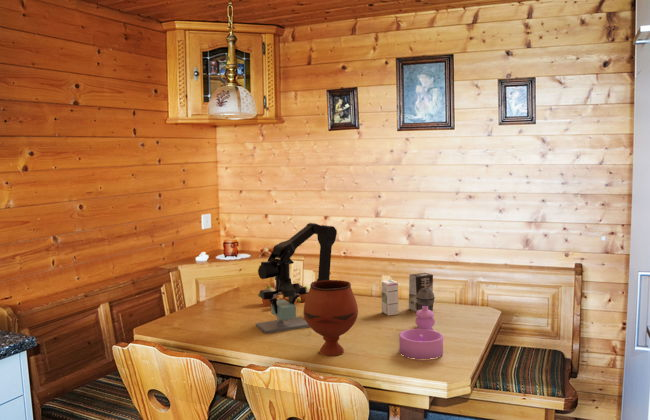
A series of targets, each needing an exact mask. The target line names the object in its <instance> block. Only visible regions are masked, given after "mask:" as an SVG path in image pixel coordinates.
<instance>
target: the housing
mask: <svg viewBox="0 0 650 420" xmlns="http://www.w3.org/2000/svg"><path fill="white" fill-rule="evenodd" d="M296 307H297V305H296V306H295V305H293V304H291V303H289V302H288V301H286V300H279V299H277V314H275V311H274V309H273V307H272V304H271V307H270V309H271V312H270V313H271V314H272V315H274V316H275V317H276V318H277V317H278V318H280V319H281V320H287V319H294V318H296V317H297V308H296Z"/></svg>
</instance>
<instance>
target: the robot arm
mask: <svg viewBox="0 0 650 420" xmlns="http://www.w3.org/2000/svg"><path fill="white" fill-rule="evenodd" d="M314 235H317V237H316V239H317V241H318V243H319V260H318V261H319V263H318V272H317V273H318V274H317V275H318V278H317V279H316V281H322V280H331V279H330V276H331V274H330V273H331V260H332V246H333V245H334V243H335V242H336V239H337V235H338V232H337V229H336V227H334V226H332V225H326V224H325V225H324V224H322V225H321V224H318V223H315V222H314V223H312V222H309V223H307V224H306V225H305V226H304V227H303V228H301V229H300V230H299V231H298V232H297V233H295V234H294V235H293V236H291V237H290V238H289V239H287V240H285V241H281V242H279V243H278V244H276V245H274V246H273V247H272V251H271V253H270V256H269V257H268V258H267V261H261V262H260V265H259V267H258V269H257V274H258V277H259V278H260V279H261V280H265V279H272V278H274V280H275V287H274V290H275V291H271V290H269V289H266V288H265V289H266V290H264V289H260V291H259V293H258V294H259V296H258V297H259V298H261V300H262V299H265V300H266V299H268V300H269V301H270V302H271V304H272V307H273V309H274V311H275V314H277V300H278V298H276V295H279V296H282V297H283V296H284V297H289V303H291V304H293V305H294V303H295V300H296V299H299V298H300V295H303V294H306V288H305V286H304V285H301V284H300V283H299V282H297V283H295V282H294V283H292V279H291V274H290V273H291V272H290V265H292V264H294V263H295V261H293V260H292V259H291V258H292V256H293V255H294V254H295V252H296V250H297V248H298V247H300V246H301V245H302V244H303V243H305V242H306V241H307V240H309V238H311V237H312V236H314ZM282 294H283V295H282Z"/></svg>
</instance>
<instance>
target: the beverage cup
mask: <svg viewBox="0 0 650 420" xmlns="http://www.w3.org/2000/svg"><path fill="white" fill-rule="evenodd" d="M435 298H436V297H435V293H434V290H433V291H432V290H431V289H429V288H426V278H425V288H422V289H421V290H420V291H419V292H418V295H417V301H418V308H419V310H422V306H428V310H431V311H432V312H433V311H434V303H435ZM433 313H434V312H433Z"/></svg>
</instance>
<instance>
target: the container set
mask: <svg viewBox="0 0 650 420" xmlns="http://www.w3.org/2000/svg"><path fill="white" fill-rule="evenodd" d="M415 316H416V317H415V325H416V326H417V328H411V329H406V330H402V331H400V332H399V334H398V335H399V341H398V344H399V345H398V346H399V348H398V349H399V351H398V353H399V352H400V353H399V354H400V355H401V354H402V355H404V356H406V357H409V358H408V359H410V358H415V359H430V358H436V357H439V356H441V355H442V354H443V355H444V336H443V334H442V333H441V332H439V331H436V330H435V329H434V328H433V327H434V326H435V322H436V321H435V318H434V317H435V313H434V312H432V311H431V310H428V306H422V310H419V311H417V312H416V313H415ZM402 355H401V356H402ZM443 355H442V356H443ZM404 356H403V357H404ZM442 356H441V357H442ZM406 357H405V358H406ZM415 359H414V360H415Z"/></svg>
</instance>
